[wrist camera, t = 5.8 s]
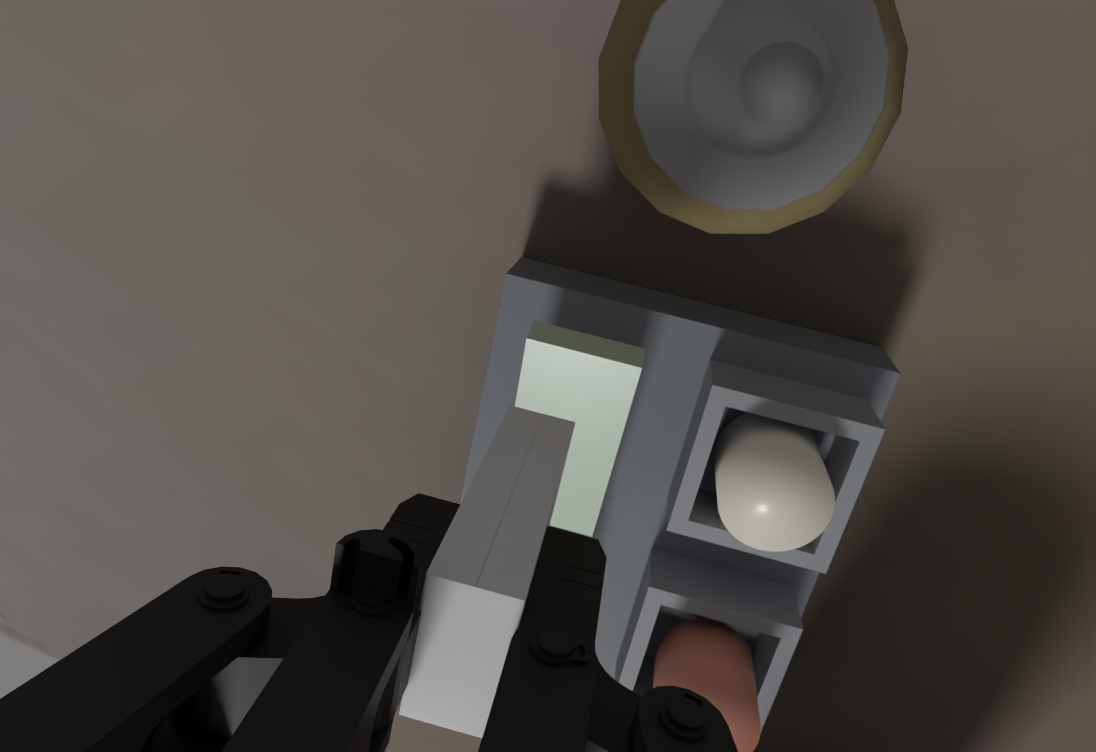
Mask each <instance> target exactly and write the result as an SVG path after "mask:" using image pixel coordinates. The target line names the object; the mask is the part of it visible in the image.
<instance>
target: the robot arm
mask: <svg viewBox="0 0 1096 752" xmlns="http://www.w3.org/2000/svg"><path fill="white" fill-rule="evenodd" d="M574 426H575V422H573V421H569V420H565V419H561V418H557V417H554V416H550V415H546V414H542V413H538V412H534V411H530V410H527V409H523V408H519V407H515V406H511V405H510V406H509V408H508V410H507V412H506V414H505V416H504V418H503V420H502V422H501V424H500V426H499V428H498V430H497V432H496V434H495V436H494V438H493V440H492V442H491V444H490V446H489V448H488V450H487V452H486V454H485V456H484V458H483V460H482V462H481V464H480V466H479V468H478V470H477V472H476V474H475V476H474V478H473V480H472V482H471V484H470V486H469V488H468V490H467V492H466V494H465V496H464V498H463V500H462V502H461V504H457V503H453V502H449V501H445V500H442V499H438V498H434V497H431V496H427V495H423V494H419V493H418V494H416V495H415V496H413V497H411V498H409V499H407V500H406V501H404V502H402V503H400V504H399V506H398V507H397V509H396V510H395V512H394V513H393V515H392V517H391V518H390V521H389V522H388V523H387V524H386V526H385V527H384V529H383V530H378V529H374V530H360V531H357V532H354V533H351V534H349V535H346V536H345V537H343V538H342V539H341V540H340V541H339V542H338V543H336V549H335V557H334V564H333V571H332V578H331V586H330V589H329V591H328V592H327V594H326V595H325V596H320V597H315V598H302V599H293V598H272V589H271V587H270V585H269V583H268V581H267V580H266V579H264V578H263V577H262V576H260V575H259V574H257V573H256V572H253V571H250V570H247V569H243V568H240V567H217V568H212V569H206V570H203V571H201V572H198V573H196V574H194V575H192V576H189V577H188V578H186V579H185V580H183V581H182V582H180V583H178V584H177V585H175V586H174V587H172V588H171V589H169V590H168V591H166V592H165V593H163V594H161V595H160V596H158V597H157V598H155V599H154V600H152V601H151V602H149V603H148V604H146V605H145V606H143V607H141V608H140V609H138V610H137V611H135V612H134V613H132V614H131V615H129V616H128V617H126V618H124V619H123V620H121V621H120V622H118V623H117V624H115V625H114V626H112V627H111V628H109V629H107V630H106V631H104V632H103V633H101V634H100V635H98V636H97V637H95V638H94V639H92V640H91V641H89V642H87V643H86V644H84V645H83V646H81V647H80V648H78V649H77V650H75V651H74V652H72V653H70V654H69V655H67V656H66V657H64V658H63V659H61V660H60V661H58V662H57V663H55V664H53V665H52V666H51V667H49V668H47V669H46V670H44V671H43V672H41V673H40V674H38V675H37V676H35V677H33V678H32V679H30V680H29V681H27V682H26V683H24V684H23V685H21V686H20V687H18V688H16V689H15V690H13V691H12V692H10V693H9V694H7V695H6V696H4V697H3V698H1V699H0V752H385V749H386V747H387V745H388V742H389V739H390V733H391V728H392V723H393V717H394V715H395V712H396V710H397V708H398V705H399V703H400V701H401V699H402V702H401V707H400V713H399V715H402V716H406V717H409V718H413V719H416V720H420V721H423V722H427V723H430V724H434V725H437V726H441V727H444V728H448V729H451V730H455V731H458V732H462V733H465V734H469V735H472V736H476V737H479V738H482V741H481V744H480V747H479V751H478V752H738V750H737V747H736V745H735V742H734V739H733V737H732V734H731V731H730V729H729V726H728V724H727V722H726V720H725V719H724V717H723V715H722V714H721V712H720V710H718V709H717V708H716V707H715V706H714V705H713V704H712V703H711V702H710V701H709V700H707V699H706V698H705V697H703V696H701V695H699V694H697V693H695V692H693V691H692V690H689V689H685V688H681V687H677V686H673V685H672V686H657V687H655V688H653V689H651V690H649V691H647V692H645V693H644V695H643V696H641V695H639V694H637V693H635V692H633V691H631V690H630V689H628V688H626V687H625V686H623V685H622V684H620V683H619V682H617V681H616V680H614V679H613V678H612V677H611V676H610V675H609V674H608V673H607V672H606V671H605V669H604V668H603V667H602V665H601V664H600V662H599V660H598V657H597V655H596V652H595V640H596V633H597V625H598V618H599V611H600V604H601V596H602V589H603V582H604V574H605V567H606V560H607V557H606V555H605V553H604V551H603V548H602V546H601V544H600V542H599V540H598V539H595V538H591V537H587V536H583V535H580V534H576V533H572V532H569V531H565V530H561V529H557V528H554V527H550V522H551V518H552V514H553V510H554V506H555V502H556V498H557V494H558V490H559V486H560V482H561V478H562V474H563V470H564V466H565V462H566V458H567V454H568V450H569V446H570V442H571V438H572V434H573V430H574ZM402 696H403V697H402Z"/></svg>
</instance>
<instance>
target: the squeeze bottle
mask: <svg viewBox="0 0 1096 752" xmlns="http://www.w3.org/2000/svg"><path fill="white" fill-rule="evenodd" d="M907 53H908V47H907V43H906V40H905V36H904V33H903V29H902V26H901V23H900V19H899V16H898V12H897V9H896V6H895V2H894V0H621V1H620V4H619V7H618V9H617V12H616V14H615V17H614V20H613V22H612V25H611V28H610V30H609V33H608V36H607V38H606V41H605V44H604V46H603V49H602V52H601V54H600V57H599V120H600V122H601V125H602V127H603V130H604V132H605V135H606V137H607V140H608V142H609V145H610V147H611V150H612V152H613V155H614V157H615V160H616V162H617V165H618V167H619V170H620V172H621V173H622V174H623V175H624V176H625V177H626V179H627V180H628V181H629V182H630V183H631V184H632V185H633V186H634V187H635V188H636V189H637V190H638V191H639V192H640V193H641V194H642V195H643V196H644V197H645V198H646V199H647V200H648V201H649V202H650V203H651V204H652V205H653V206H654V207H655V208H656V209H657V210H658V211H659V212H660V213H662V214H665V215H667V216H670V217H672V218H674V219H677V220H679V221H682V222H684V223H686V224H689V225H691V226H694V227H696V228H698V229H701V230H703V231H706V232H708V233H710V234H769V233H771V232H774V231H776V230H779V229H781V228H784V227H787V226H789V225H792V224H794V223H797V222H799V221H802V220H804V219H807V218H810V217H812V216H815V215H817V214H820V213H822V212H824V211H825V210H826V209H828V208H829V207H830V206H831V205H832V204H833V203H834V202H835V201H836V200H838V199H839V198H840V197H841V196H842V195H843V194H844V193H845V192H847V191H848V190H849V189H850V188H851V187H852V186H853V185H854V184H855V183H857V182H858V181H859V180H860V179H861V178H862V177H863V176H864V175H866V174H867V173H868V172H869V171H870V170H871V168H872V166H873V164H874V162H875V160H876V158H877V157H878V155H879V153H880V151H881V149H882V147H883V145H884V143H885V141H886V139H887V138H888V136H889V134H890V132H891V130H892V128H893V126H894V124H895V122H896V121H897V119H898V117H899V115H900V113H901V104H902V96H903V87H904V78H905V70H906V61H907Z"/></svg>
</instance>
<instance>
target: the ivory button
mask: <svg viewBox="0 0 1096 752" xmlns="http://www.w3.org/2000/svg"><path fill="white" fill-rule="evenodd" d="M714 469H715V480H716V492H717V504H718V511H719V515H720V517H721V520H722V522H723V524H724V526H725V527H726V528H727V530H728V531H729V532H730V533H731V534H732V535H733V536H734V537H735V538H736V539H738V540H739V541H740V542H742V543H744V544H745V545H748V546H750V547H752V548H755V549H758V550H763V551H770V552H782V551H789V550H793V549H796V548H799V547H802V546H804V545H806V544H808V543H810V542H811V541H813V540H814V539H815V538H817V537H818V536H819V535H820V534H821V533H822V532H823V531H824V530H825V528H826V527H827V525H828V524H829V522H830V520H831V518H832V515H833V512H834V507H835V495H834V490H833V486H832V483H831V481H830V478H829V475H828V473H827V470H826V467H825V465H824V462H823V459H822V457H821V454H820V451H819V449H818V446H817V443H816V441H815V438H814V436H813V434H812V433H811V431H810V430H809V428H807V427H803V426H799V425H796V424H792V423H788V422H784V421H780V420H776V419H772V418H769V417H765V416H761V415H757V414H753V413H749V412H748V413H745V414H743V415H740V416H739V417H737V418H735V419H734V420H732V421H731V422H730V423H729V424H728V425H727V426H726V427H725V428H724V429H723V430H722V432H721V433H720V435H719V437H718V439H717V441H716V444H715V448H714Z"/></svg>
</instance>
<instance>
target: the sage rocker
mask: <svg viewBox="0 0 1096 752" xmlns="http://www.w3.org/2000/svg"><path fill="white" fill-rule="evenodd" d="M645 352H646V349H644V348H640V347H637V346H633V345H629V344H625V343H621V342H617V341H613V340H609V339H605V338H602V337H598V336H594V335H590V334H586V333H582V332H578V331H574V330H570V329H566V328H563V327H559V326H555V325H551V324H547V323H543V322H539V321H535V320H534V321H533V324H532V326H531V329H530V331H529V333H528V336H527V338H526V344H525V350H524V356H523V361H522V367H521V373H520V379H519V385H518V390H517V396H516V402H515V407H519V408H523V409H527V410H530V411H534V412H538V413H542V414H546V415H550V416H554V417H557V418H561V419H565V420H569V421H573V422H575V426H574V430H573V434H572V438H571V442H570V446H569V450H568V454H567V458H566V462H565V466H564V470H563V474H562V478H561V482H560V486H559V490H558V494H557V498H556V502H555V506H554V510H553V514H552V518H551V522H550V526H554V527H558V528H561V529H565V530H569V531H572V532H576V533H580V534H583V535H587V536H590V537H592V535H593V532H594V529H595V525H596V522H597V519H598V515H599V512H600V508H601V505H602V502H603V498H604V495H605V492H606V488H607V485H608V481H609V478H610V475H611V471H612V468H613V465H614V461H615V458H616V454H617V451H618V448H619V444H620V441H621V438H622V434H623V431H624V428H625V424H626V421H627V417H628V414H629V411H630V407H631V404H632V401H633V397H634V394H635V390H636V387H637V384H638V380H639V377H640V374H641V370H642V366H643V361H644V357H645Z"/></svg>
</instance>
